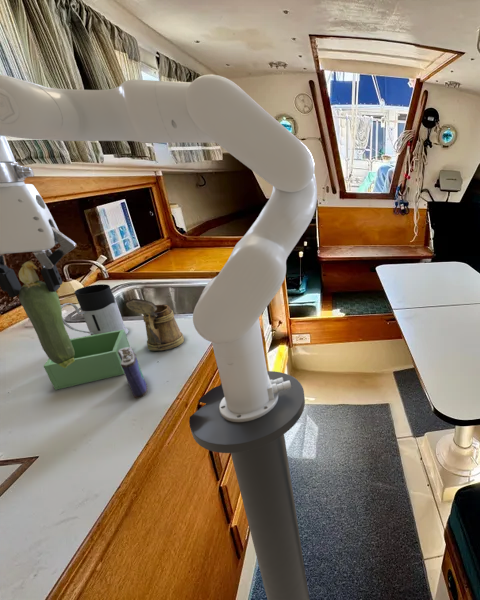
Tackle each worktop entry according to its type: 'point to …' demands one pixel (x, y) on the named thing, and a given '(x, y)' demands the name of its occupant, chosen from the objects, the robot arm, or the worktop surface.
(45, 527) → the worktop surface
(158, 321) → the wooden mug
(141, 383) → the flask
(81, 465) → the worktop surface
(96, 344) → the veg bin
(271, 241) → the robot arm
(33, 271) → the vegetable
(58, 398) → the worktop surface
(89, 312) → the travel mug
